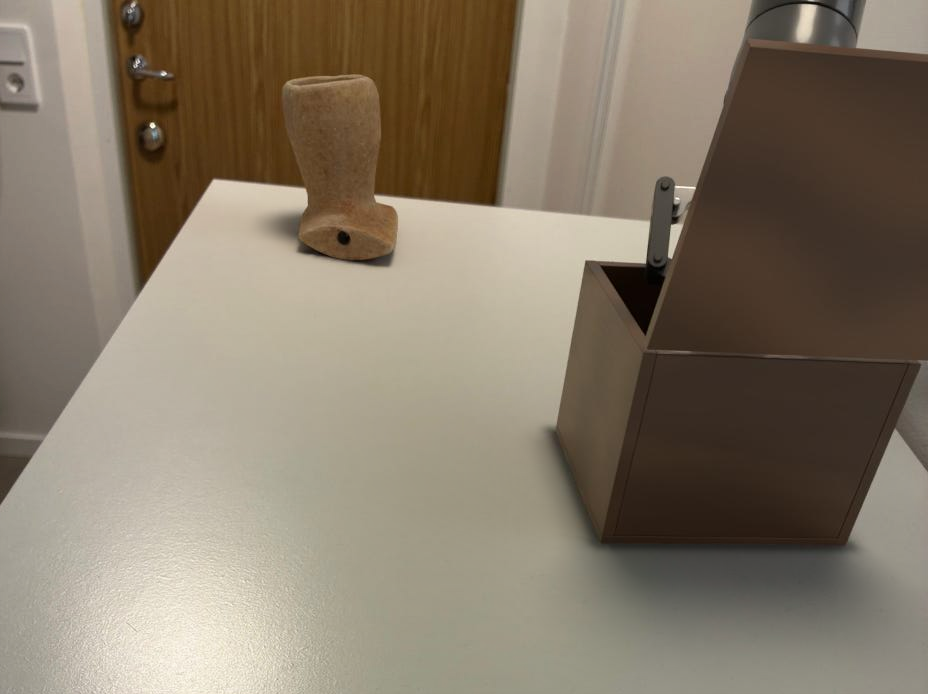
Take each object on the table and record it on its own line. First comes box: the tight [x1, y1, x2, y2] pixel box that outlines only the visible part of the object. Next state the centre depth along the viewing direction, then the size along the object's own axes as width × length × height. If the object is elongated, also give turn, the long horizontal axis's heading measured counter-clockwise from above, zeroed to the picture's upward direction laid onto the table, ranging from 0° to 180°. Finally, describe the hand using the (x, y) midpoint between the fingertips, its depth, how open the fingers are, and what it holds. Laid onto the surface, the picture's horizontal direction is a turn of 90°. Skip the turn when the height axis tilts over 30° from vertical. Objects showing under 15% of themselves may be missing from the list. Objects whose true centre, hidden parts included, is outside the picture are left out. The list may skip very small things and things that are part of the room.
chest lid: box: [644, 39, 928, 362], centre depth 48 cm, size 16×17×1 cm
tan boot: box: [281, 74, 399, 261], centre depth 97 cm, size 15×12×15 cm
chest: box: [554, 259, 922, 546], centre depth 65 cm, size 15×17×13 cm
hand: (728, 358), depth 61 cm, fingers closed on pill bottle, 6 cm apart
